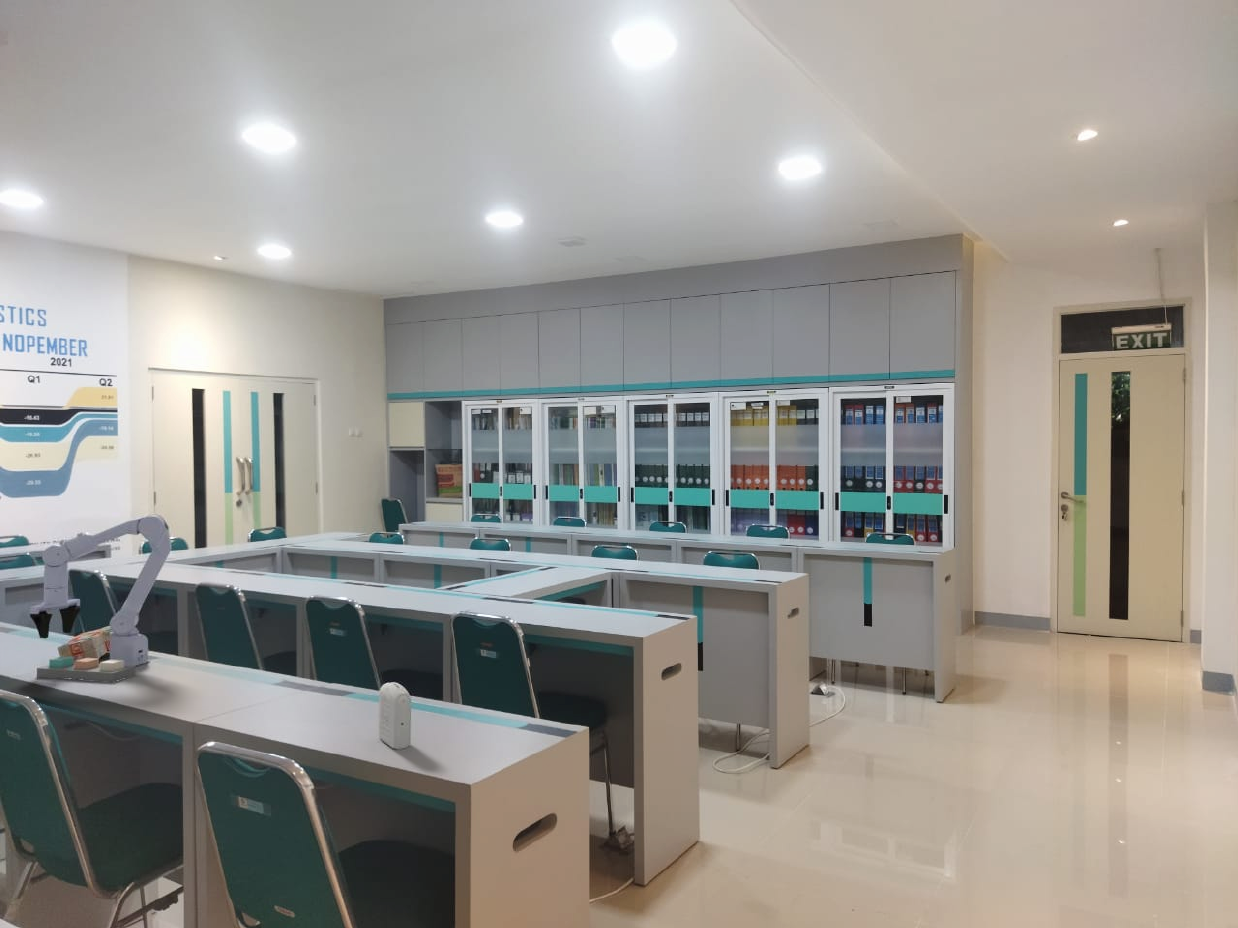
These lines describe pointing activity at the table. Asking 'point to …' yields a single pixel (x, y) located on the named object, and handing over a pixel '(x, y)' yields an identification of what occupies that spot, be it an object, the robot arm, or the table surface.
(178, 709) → the table surface
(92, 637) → the stack of blocks
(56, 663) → the teal button
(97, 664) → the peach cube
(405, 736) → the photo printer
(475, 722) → the table surface
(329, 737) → the table surface
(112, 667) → the cream button
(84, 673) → the button panel
